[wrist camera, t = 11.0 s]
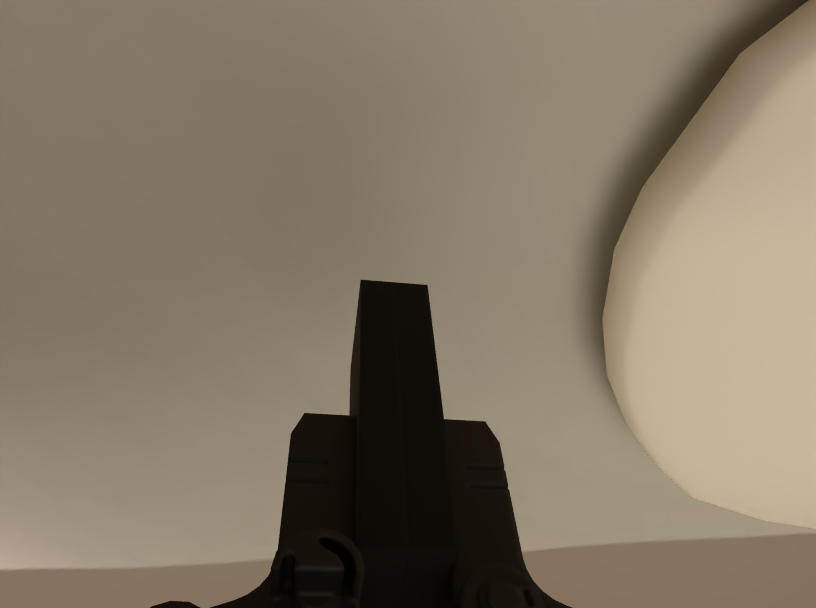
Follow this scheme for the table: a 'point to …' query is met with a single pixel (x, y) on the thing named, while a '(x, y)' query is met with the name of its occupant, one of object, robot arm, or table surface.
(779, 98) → the plate
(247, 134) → the table surface
